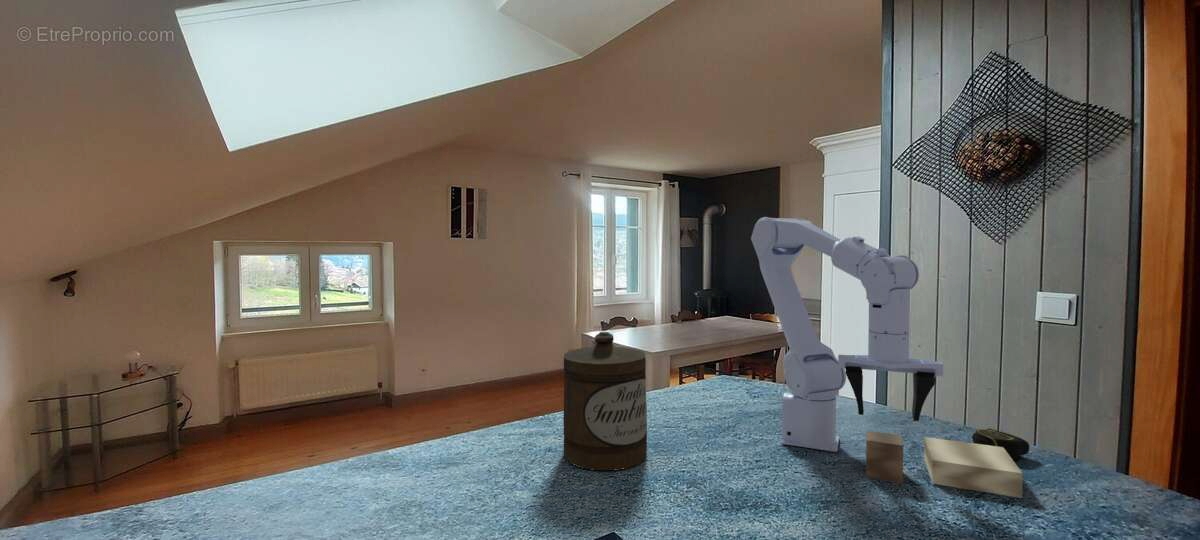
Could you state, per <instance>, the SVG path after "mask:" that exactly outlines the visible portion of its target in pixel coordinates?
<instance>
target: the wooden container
mask: <svg viewBox="0 0 1200 540" xmlns="http://www.w3.org/2000/svg"><path fill="white" fill-rule="evenodd" d="M594 341H595V343H596V344H595V345H594V346H591V347H581V348H576V349H571V350H568V351H567V352H566V353H564V355H563V373H564V374H563V421H562V422H563V432H562V433H563V456H565V457H564V459H565V458H566V459H567V460H568V461H569V462H571V463H573V464H575V465H577V466H580V467H583V468H588V469H593V470H592V471H594V470H614V469H622V468H627V469H629V468H628V467H630V468H632V467H631V466H633V467H635V466H634V465H636V466H638V465H639V464H638V463H640V462H641V463H642V462H643V461H644V460H645V459H646V458H647V454H648V442H647V441H648V438H647V437H648V408H647V406H648V405H647V404H648V403H647V376H646V375H647V373H646V370H647V369H646V366H647V360H646V357H647V356H646V353H645V352H644V351H642V350H639V349H634V348H630V347H624V346H623V347H622V346H615V345H614V343H613V342H614V335H613V334H612V333H610V332H608V331H601V332H599V333H597V334H596V335H595V336H594ZM566 459H565V460H566ZM567 460H566V461H567ZM568 461H567V462H568ZM569 462H568V463H569ZM571 463H570V464H571ZM641 463H640V464H641ZM637 464H638V465H637ZM577 466H576V467H577ZM583 468H582V469H583Z"/></svg>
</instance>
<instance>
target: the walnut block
mask: <svg viewBox="0 0 1200 540" xmlns="http://www.w3.org/2000/svg"><path fill="white" fill-rule="evenodd" d="M865 435H866V436H865V437H866V438H865V439H866V440H865V441H866V443H865V445H866V446H865V451H866V452H865V472H866V473H865V475H866V476H865V477H866V478H868V479H873V480H879V481H886V482H890V483H896V484H897V483H898V484H904V443H903V437H902V434H896V433H888V432H881V431H873V430H866V433H865Z"/></svg>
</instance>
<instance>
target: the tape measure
mask: <svg viewBox="0 0 1200 540" xmlns="http://www.w3.org/2000/svg"><path fill="white" fill-rule="evenodd" d="M971 439H972V443H974V444H982V445H990V446H997V447H1003V448H1004V449H1005V450H1006V452H1007V453H1008V454H1009V456H1010V457H1011V458H1012V459H1017V458H1020V457H1022V456H1025V455H1027V454H1028V453H1029V452H1030V444H1029V442H1028V441H1027V440H1025V439H1024V438H1022V437H1019V436H1016V435H1012V434H1010V433H1007V432H1003V431H999V430H997V429H992V428H986V429H985V428H981V429H977V430H975V432H973V434H972V437H971Z"/></svg>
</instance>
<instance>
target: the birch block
mask: <svg viewBox="0 0 1200 540" xmlns="http://www.w3.org/2000/svg"><path fill="white" fill-rule="evenodd" d="M923 438H924V439H923V444H924V445H923V459H924V462H925V463H924V464H925V465H926V468H927V471H928V474H929V477H930V480H931V483H932V485H933V484H934V485H938V486H946V487H951V488H958V489H963V490H969V491H970V490H971V491H975V492H976V491H977V492H983V493H988V494H994V495H1001V496H1008V497H1013V498H1021V499H1023V480H1024V479H1023V478H1024V477H1023V476H1024V475H1023V472H1022V470H1021V469H1020V468H1019V467H1018V464H1016V462H1015V461H1014V459H1013V458H1011V457H1010V456H1009V454H1008V453H1007V452H1006V450H1005V449H1004V448H1003V447H997V446H990V445H982V444H974V442H966V441H959V440H958V441H957V440H952V439H951V440H949V439H943V438H934V437H928V436H924V437H923Z"/></svg>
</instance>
